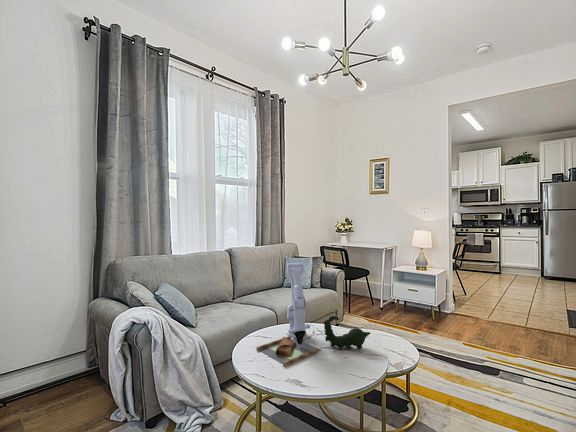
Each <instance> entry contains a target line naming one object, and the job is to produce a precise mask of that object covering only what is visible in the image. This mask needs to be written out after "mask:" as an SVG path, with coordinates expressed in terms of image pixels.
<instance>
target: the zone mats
mask: <svg viewBox="0 0 576 432" xmlns="http://www.w3.org/2000/svg"><path fill="white" fill-rule="evenodd" d="M291 341H293V342H296V344H295V346H294V348H293V350H292V352H291V356H290V357H282V356H277V355H276V350H277V348H278V346H279V344H280V343H279V344H277V345H274V346H271V347H268V348H265V349H262V350H259V351H258V352H260V353H262V354H264V355H266V356H268V357H269V358H271V359H273V360H275V361H277V362H278V363H279V364H281V365H283V362H284V361H287V360H289V359H292V358H294V357H297V356H299V355H302V354H305V353H307V352H310V351H312V350H315V349H317V348H318V347H315V346H313V345H311V344H309V343H306V342H304V341H302V344H298V343H297V339H296V338H294V337H293V338H291ZM318 349H319V348H318ZM321 351H322V350H321V348H320V349H319V352H321Z"/></svg>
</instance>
